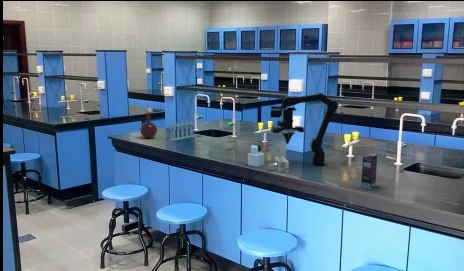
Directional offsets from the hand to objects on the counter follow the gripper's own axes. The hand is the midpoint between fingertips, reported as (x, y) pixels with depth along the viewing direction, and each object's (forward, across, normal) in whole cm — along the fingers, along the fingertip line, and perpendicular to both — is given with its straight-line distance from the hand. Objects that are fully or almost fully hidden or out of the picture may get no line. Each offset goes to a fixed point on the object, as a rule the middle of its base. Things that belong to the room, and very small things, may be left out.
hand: (287, 143), depth 248 cm
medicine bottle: (+12, +19, -1) cm, 23 cm away
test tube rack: (+13, +55, -94) cm, 110 cm away
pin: (+11, +9, +13) cm, 19 cm away
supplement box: (+12, -25, +51) cm, 58 cm away
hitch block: (+12, +7, +13) cm, 19 cm away
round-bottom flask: (+13, +82, -98) cm, 128 cm away
